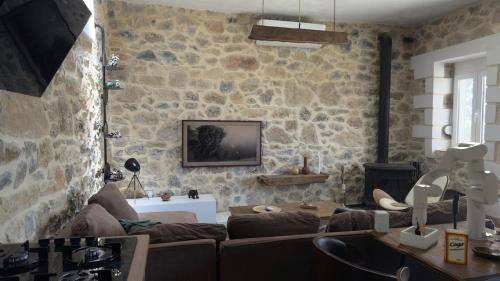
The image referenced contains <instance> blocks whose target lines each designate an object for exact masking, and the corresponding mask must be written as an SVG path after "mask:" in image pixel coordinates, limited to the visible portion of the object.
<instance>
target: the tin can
mask: <svg viewBox="0 0 500 281" xmlns="http://www.w3.org/2000/svg"><path fill="white" fill-rule="evenodd" d="M417 225H419V224H417ZM424 225H425V226H426V223H425V222H424V223H423V225H421V227H420V231H421V236H423V237H424ZM417 227H418V228H419V226H417Z"/></svg>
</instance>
